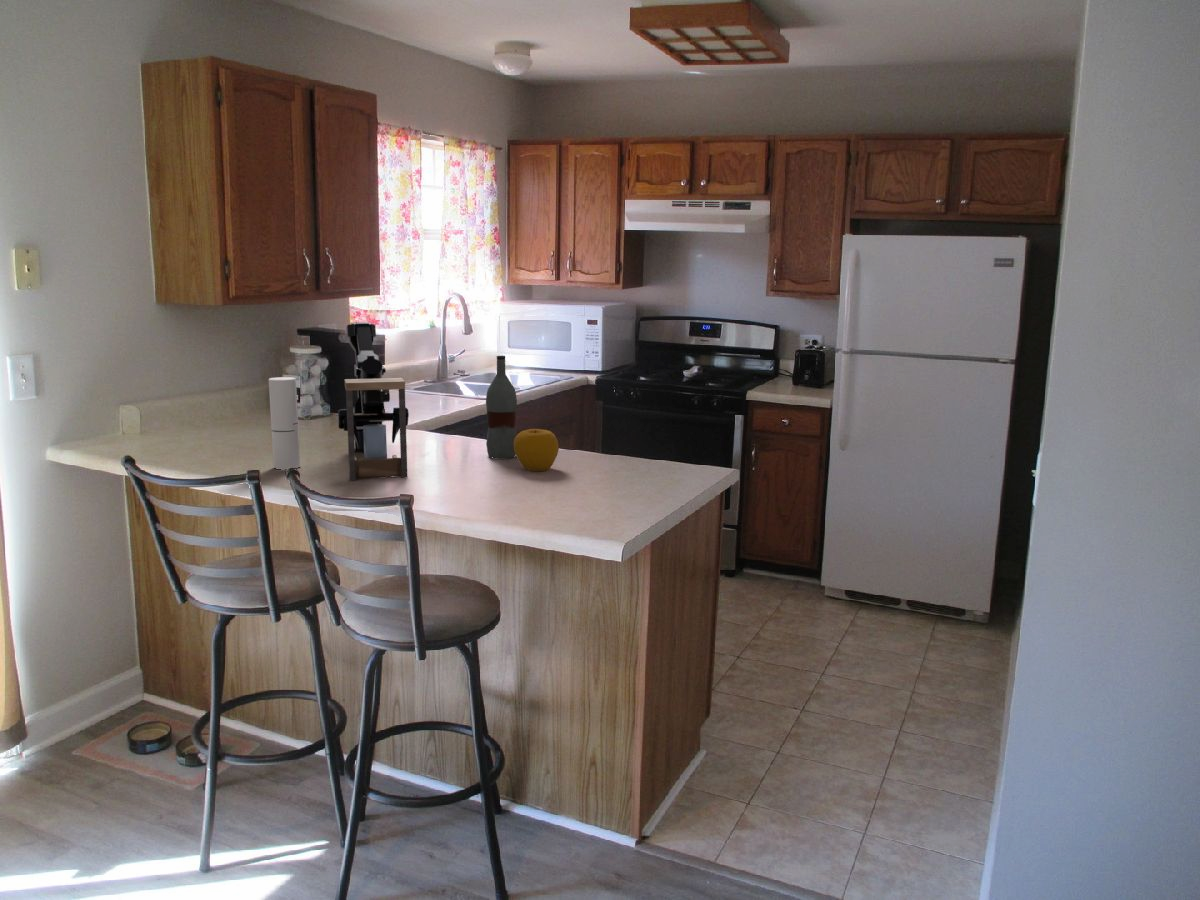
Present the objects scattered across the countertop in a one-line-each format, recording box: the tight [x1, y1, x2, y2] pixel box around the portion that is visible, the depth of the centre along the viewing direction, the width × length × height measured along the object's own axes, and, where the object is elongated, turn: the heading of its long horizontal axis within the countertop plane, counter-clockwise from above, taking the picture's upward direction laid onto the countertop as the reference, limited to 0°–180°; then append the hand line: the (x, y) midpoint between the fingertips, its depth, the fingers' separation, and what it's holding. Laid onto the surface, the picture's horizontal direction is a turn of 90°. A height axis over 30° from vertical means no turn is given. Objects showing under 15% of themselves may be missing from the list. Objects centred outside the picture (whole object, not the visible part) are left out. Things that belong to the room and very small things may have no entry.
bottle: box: [485, 355, 518, 459], centre depth 286 cm, size 9×9×30 cm
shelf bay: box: [344, 377, 408, 482], centre depth 261 cm, size 15×15×26 cm
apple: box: [514, 428, 559, 473], centre depth 270 cm, size 13×13×11 cm
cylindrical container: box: [268, 376, 301, 471], centre depth 268 cm, size 7×7×25 cm
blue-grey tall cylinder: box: [363, 423, 388, 459], centre depth 263 cm, size 6×6×12 cm
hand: (375, 443), depth 261 cm, fingers open, 9 cm apart
